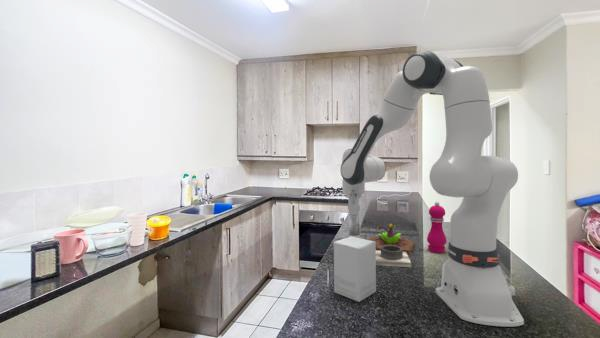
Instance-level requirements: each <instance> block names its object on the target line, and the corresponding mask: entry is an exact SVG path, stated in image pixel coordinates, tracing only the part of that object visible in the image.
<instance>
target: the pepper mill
mask: <svg viewBox="0 0 600 338" xmlns="http://www.w3.org/2000/svg"><path fill="white" fill-rule="evenodd" d="M428 214H429V215H430V219H429V220H430V223H431V225H430V229H429V232H428V234H427V237H426V241H427V243H428V245H427V250H428V251H429V252H431V253H436V254H444V253H446V246H445V245H446V244H447V243H448V242H447V241H448V240H447V237H446V234H445V232H444V228H443V222H444V219H445V218H444V217H445V216H446V210H445V208H444V207H443V206H441V205H440V202H439V201H435V202H434V205H431V206H430V207H429V209H428Z"/></svg>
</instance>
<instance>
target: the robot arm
mask: <svg viewBox="0 0 600 338" xmlns="http://www.w3.org/2000/svg"><path fill="white" fill-rule="evenodd" d="M428 93H429V95H436V96H437V95H438V96H439V95H440V96H442V98H443V105H444V106H443V108H444V117H445V130H446V131H445V132H446V133H445V135H446V136H445V142H444V146H443V150H442V152H441V154H440V157H439V158H438V159H437V161H435V162H434V164H432V166H431V169H430V170H429V182H430V185H431V188H432V189H433V190H434V191H435V193H437V194H438V195H441V196H445V197H450V198H463V199H462V202H461V203H460V205H459V207H458V208H457V209H456V210H455V211H453V213H452V215H451V216H450V224H449V226H450V227H449V228H450V230H449V231H450V233H449V236H450V237H449V238H450V239H449V242H448V247H447V252H448V253H447V255H448V258H447V260H445V262H444V263H442V268H441V269H442V270H441V284H440V286H438V287H436V288H435V291H434V293H435V294H436V295H437V296H438V297H439V298H440V299H441V300H442V301H443V302H444V303H445V304H446V305H447V306H448V307H449V309H451V310H452V312H453V313H455V314H456V315H457V316H458V318H460V319H461V320H464V321H466V322H469V323H474V324H479V325H485V326H492V327H502V328H503V327H505V328H506V327H511V328H513V327H520V326H523V325H525V320H524V317H523V315H521V314H522V313H520V311H519V308H518V307H517V306H516V304H515V302H514V301H513V297H514V296H516V288H515V286H514V285H510V284H509V285H508V283H507V281H508V276H507V275H504V273H503V271H502V268H501V266H500V263H501V262H500V254H499V249H498V248H497V233H498V232H497V231H498V221H499V220H498V219H499V215H500V212H501V209H502V206H503V204H504V201H505V198H506V197H507V194H509V192H510V191H511V190H512V189H513V188H514V187H515V185H516V184H517V182H518V179H519V172H518V168H517V166H516V165H515V163H514V162H512V161H511V160H509V159H508V158H505V157H501V156H500V157H499V156H497V155H496V156H495V155H482V151H483V145H484V142H485V140H486V139H488V137H489V136H490V135H491V134H492V132H493V121H492V120H493V119H492V113H491V102H490V94H489V91H488V85H487V82H486V79H485V76H484V74H483V72H482V70H481V69H480V68H479V67H476V66H473V65H463V64H462V63H460V62H459V61H457V60H456V59H455V60H454V59H452V58H450V57H448V56H447V55H444V54H440V53H437V52H433V51H429V50H420V51H416V52H413V53H412V54H410V55H409V56H408V57H407V59H406V60H405V62H404V64H403V66H402V70H399V72H397V73H396V74H395V76H394V77H393V79H392V81H391V82H390V84H389V85H388V88H387V89H386V91H385V94H384V96H383V98H382V100H381V103H380V104H379V106H378V108H377V109H376V111H375V112H374V113H373V115H372V116H371V117H370V118H369V119H368V120H367V122H365V124H364V126H363V128H362V130H361V132H360V134H359V136H358V137H357V139H356V141H355V143H354V145H353V147H352V148H349V149H346V150H345V151H343V154H342V162H341V165H340V176H341V178H342V179H341V180H342V182H341V183H342V184H341V185H342V186H341V187H342V194H345V198H347V200H348V205H349V216H351V219H352V225H356V218H357V216H358V214H359V213H360V210H359V208H358V204H359V205H360V199H361V198H362V194H363V195H365V194H366V190H365V189H366V188H365V183H372V182H377V181H380V180H382V179H383V178H384V177H385V175H386V171H387V168H386V164H385V162H384V160H383V159H382V158H381V157H378V156H374V155H371V151H372V150H373V148H374V147H375V145H376V143H377V142H378V141H379V140H380V139H381V138H382V137H384V136H386V135H387V134H389V133H392V132H395V131H398V130H400V129H402V128H404V127H405V126H406V125H407V123H408V122H409V121H410V119H411V117H412V115H413V114H414V111H415V109H416V107H417V104H418V102H419V100H420V99H421V97H422V96H423V95H425V94H428ZM512 296H513V297H512Z"/></svg>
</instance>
